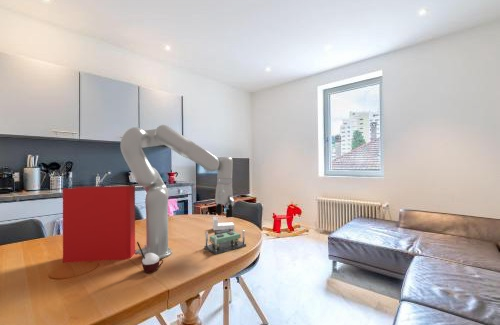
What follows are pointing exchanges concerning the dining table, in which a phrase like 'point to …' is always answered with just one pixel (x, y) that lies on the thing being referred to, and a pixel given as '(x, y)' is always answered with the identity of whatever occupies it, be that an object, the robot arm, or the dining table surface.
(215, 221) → the bracket
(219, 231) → the block
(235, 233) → the board
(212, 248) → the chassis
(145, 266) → the cocoa
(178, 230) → the dining table surface
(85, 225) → the book
